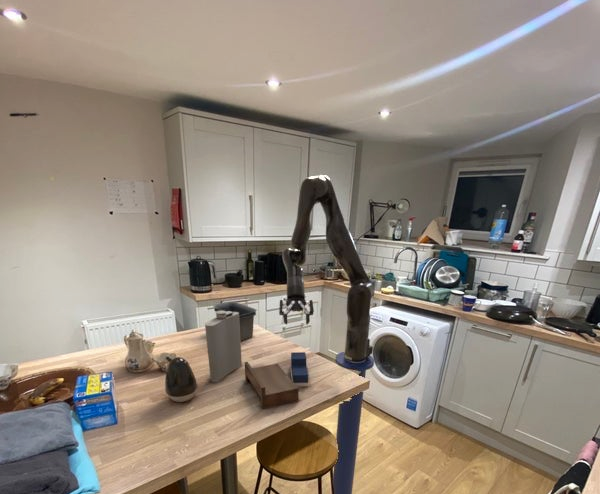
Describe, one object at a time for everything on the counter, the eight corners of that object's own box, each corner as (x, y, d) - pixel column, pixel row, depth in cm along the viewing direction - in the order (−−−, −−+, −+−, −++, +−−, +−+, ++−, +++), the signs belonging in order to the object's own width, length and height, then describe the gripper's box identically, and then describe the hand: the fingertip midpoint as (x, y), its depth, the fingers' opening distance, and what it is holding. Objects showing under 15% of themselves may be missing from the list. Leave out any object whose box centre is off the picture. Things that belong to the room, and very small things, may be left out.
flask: (234, 362, 141) (230, 304, 130) (243, 364, 139) (240, 306, 128) (207, 380, 126) (200, 317, 116) (217, 383, 124) (211, 319, 114)
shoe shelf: (277, 374, 131) (277, 356, 128) (298, 400, 115) (298, 380, 111) (245, 381, 126) (244, 362, 123) (262, 409, 110) (261, 387, 106)
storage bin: (260, 336, 167) (259, 309, 161) (236, 345, 156) (234, 316, 150) (233, 326, 180) (232, 300, 174) (209, 334, 169) (206, 306, 163)
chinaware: (185, 371, 136) (184, 332, 130) (147, 383, 123) (143, 340, 117) (147, 353, 150) (144, 317, 145) (108, 362, 137) (104, 323, 132)
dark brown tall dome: (183, 387, 121) (178, 348, 115) (204, 395, 116) (200, 355, 110) (160, 400, 113) (152, 359, 107) (181, 409, 108) (175, 367, 102)
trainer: (290, 369, 136) (290, 352, 133) (305, 368, 136) (305, 352, 133) (292, 386, 123) (292, 368, 120) (308, 386, 124) (309, 368, 120)
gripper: (278, 284, 138) (279, 319, 133) (313, 284, 140) (315, 319, 134) (278, 293, 145) (279, 327, 140) (311, 293, 147) (313, 327, 141)
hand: (296, 323), depth 137 cm, fingers open, 8 cm apart
